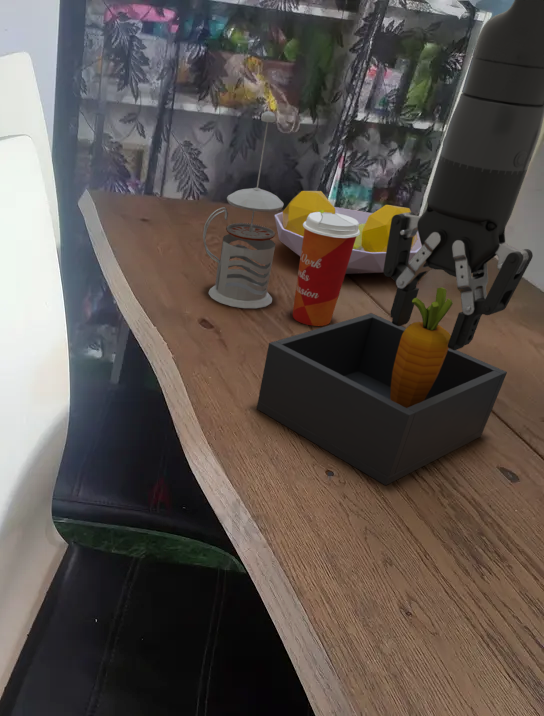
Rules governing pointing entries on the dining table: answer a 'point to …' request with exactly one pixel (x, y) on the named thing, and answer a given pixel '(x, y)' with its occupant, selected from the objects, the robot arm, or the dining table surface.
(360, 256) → the fruit bowl
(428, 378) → the carrot
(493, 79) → the robot arm
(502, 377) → the open dark gray box
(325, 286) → the paper cup
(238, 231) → the french press
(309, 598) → the dining table surface
